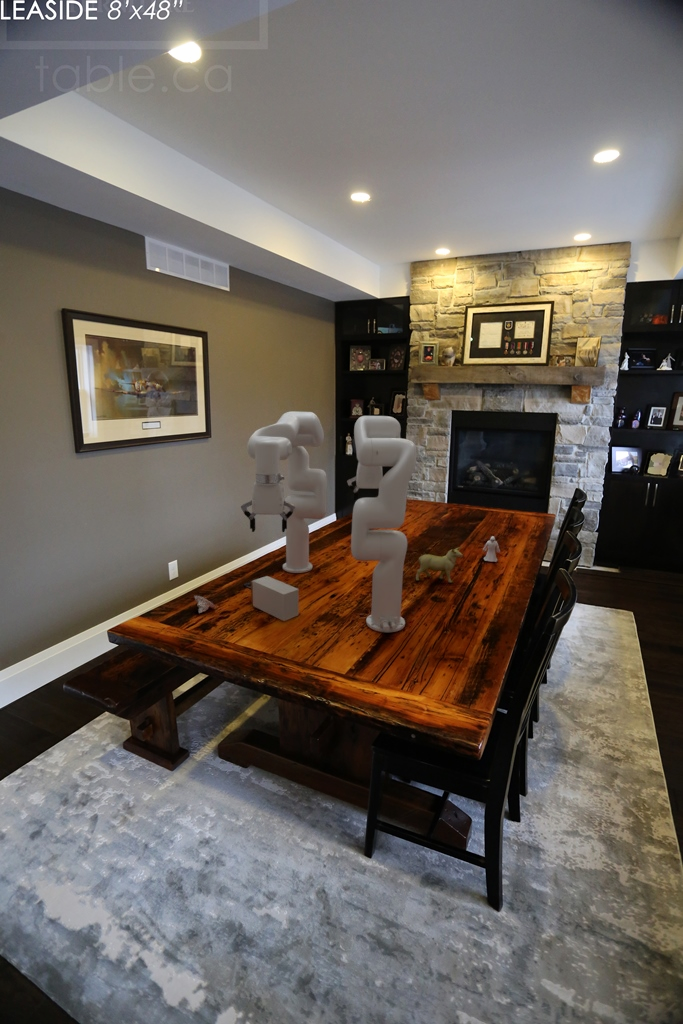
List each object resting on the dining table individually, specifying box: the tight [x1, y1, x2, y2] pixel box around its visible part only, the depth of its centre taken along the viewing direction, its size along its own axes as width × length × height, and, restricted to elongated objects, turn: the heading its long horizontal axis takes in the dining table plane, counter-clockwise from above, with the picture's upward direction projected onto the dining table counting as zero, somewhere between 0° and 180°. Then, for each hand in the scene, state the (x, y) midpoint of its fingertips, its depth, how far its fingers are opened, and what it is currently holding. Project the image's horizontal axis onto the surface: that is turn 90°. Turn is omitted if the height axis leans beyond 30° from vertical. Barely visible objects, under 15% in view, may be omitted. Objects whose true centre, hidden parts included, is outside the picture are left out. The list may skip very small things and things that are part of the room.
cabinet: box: [251, 575, 300, 622], centre depth 170 cm, size 16×6×9 cm, turn 47°
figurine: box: [482, 535, 501, 563], centre depth 223 cm, size 8×8×12 cm
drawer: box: [242, 580, 253, 603], centre depth 173 cm, size 21×5×8 cm, turn 47°
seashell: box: [193, 595, 217, 614], centre depth 168 cm, size 8×5×8 cm
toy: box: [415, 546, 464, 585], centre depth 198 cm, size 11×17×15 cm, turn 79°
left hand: (268, 531), depth 162 cm, fingers open, 9 cm apart
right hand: (368, 501), depth 198 cm, fingers open, 9 cm apart
